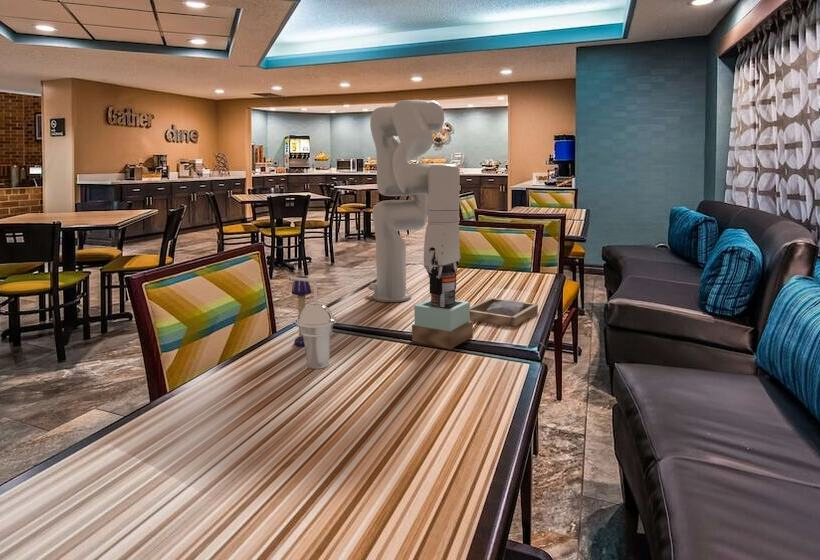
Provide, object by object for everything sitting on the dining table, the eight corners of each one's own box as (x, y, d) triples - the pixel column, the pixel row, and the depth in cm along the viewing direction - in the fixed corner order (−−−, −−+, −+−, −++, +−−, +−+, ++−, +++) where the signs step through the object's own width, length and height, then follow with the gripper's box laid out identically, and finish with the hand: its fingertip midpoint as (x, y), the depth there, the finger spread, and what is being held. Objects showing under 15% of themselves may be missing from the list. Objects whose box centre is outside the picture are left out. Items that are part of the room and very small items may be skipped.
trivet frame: (463, 318, 153) (463, 310, 153) (490, 305, 167) (490, 297, 167) (514, 327, 145) (514, 318, 144) (538, 312, 159) (538, 304, 158)
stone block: (485, 326, 153) (521, 322, 149) (482, 309, 152) (518, 305, 148) (493, 316, 164) (527, 313, 160) (491, 301, 163) (524, 297, 160)
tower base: (412, 342, 134) (412, 325, 133) (435, 331, 143) (435, 314, 142) (450, 350, 128) (450, 332, 127) (472, 338, 137) (472, 321, 136)
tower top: (414, 325, 133) (414, 305, 132) (434, 315, 141) (434, 297, 140) (450, 331, 128) (450, 311, 127) (469, 321, 136) (469, 302, 135)
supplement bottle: (427, 307, 135) (427, 262, 133) (449, 305, 137) (449, 260, 135) (436, 313, 130) (436, 266, 127) (459, 310, 132) (459, 264, 129)
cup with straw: (331, 373, 114) (327, 279, 109) (290, 371, 115) (285, 278, 111) (342, 359, 122) (339, 271, 118) (304, 357, 123) (300, 270, 119)
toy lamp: (295, 340, 135) (292, 275, 132) (314, 340, 135) (311, 274, 132) (293, 347, 130) (289, 279, 127) (312, 346, 131) (309, 278, 127)
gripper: (447, 213, 138) (447, 283, 142) (409, 219, 124) (410, 296, 128) (474, 215, 134) (473, 286, 137) (438, 221, 120) (438, 300, 123)
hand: (443, 290), depth 132 cm, fingers closed on supplement bottle, 6 cm apart
